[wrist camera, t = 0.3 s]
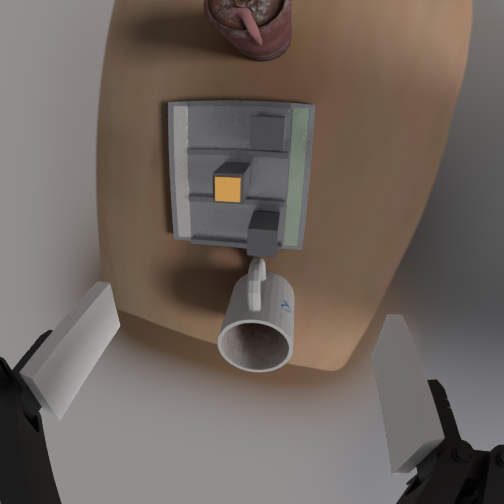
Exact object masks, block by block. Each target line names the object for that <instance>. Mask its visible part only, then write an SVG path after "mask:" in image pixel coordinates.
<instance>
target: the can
mask: <svg viewBox="0 0 504 504" xmlns="http://www.w3.org/2000/svg"><path fill="white" fill-rule="evenodd" d="M204 12H205V15H206V17H207V19H208V21H209V23H210V24H211V25H212V26H213V27H214V28H215V29H217V30H218V31H219V32H220V33H221V34H222V35H223V36H224V37H225V38H226V39H227V40H229V41H230V42H231V43H232V44H233V45H234V46H235V47H236V48H237V49H238V50H239V51H240V52H241V53H242V54H243V55H244V56H246V57H248V58H250V59H252V60H257V61H270V60H273V59H275V58H278V57H279V56H281V55H282V54H283V53H285V52H286V50H287V49H288V47H289V46H290V42H291V38H292V36H291V0H204Z"/></svg>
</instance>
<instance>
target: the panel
mask: <svg viewBox="0 0 504 504" xmlns="http://www.w3.org/2000/svg"><path fill="white" fill-rule="evenodd" d="M254 115H275V116H286V122H285V140H284V148H283V150H268V149H250V135H251V116H254ZM314 116H315V105H310V104H299V103H287V102H270V101H239V100H213V101H183V102H168V138H169V168H170V188H171V205H172V219H173V232H174V239H176V240H189V241H191V244H201V245H213V246H225V247H237V248H247V234H248V226H249V223H250V220H251V217H252V214H253V211H256V212H269V213H280V218H279V232H278V243H277V251H281V248H285V249H296V250H302V247H303V238H304V229H305V220H306V211H307V201H308V191H309V180H310V169H311V157H312V144H313V131H314ZM223 163H241V164H251V170H250V191H249V193H248V195H247V197H246V199H245V202H244V204H228V203H213V172H214V171H215V170H216V169H217V168H218V167H220V166H221V165H222V164H223Z"/></svg>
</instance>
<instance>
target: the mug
mask: <svg viewBox="0 0 504 504" xmlns="http://www.w3.org/2000/svg"><path fill="white" fill-rule="evenodd" d="M293 332H294V292H293V289H292V287H291V285H290V284H289V283H288V282H287V281H286V280H285V279H284V278H283V277H281V276H280V275H278V274H276V273H273V272H269V271H266V268H265V262H264V260H263V259H262V258H260V257H256V258H253V260H252V261H251V263H250V266H249V270H248V274H246V275H244V276H242V277H241V278H240V279H239V280H238V281H237V282H236V284H235V286H234V288H233V291H232V295H231V298H230V301H229V305H228V308H227V311H226V314H225V318H224V321H223V324H222V328H221V331H220V334H219V338H218V348H219V351H220V353H221V354H222V356H223V357H224V358H225V359H226V360H227V361H228V362H229V363H231V364H232V365H234V366H236V367H238V368H240V369H243V370H247V371H252V372H266V371H272V370H275V369H277V368H280V367H281V366H283V365H284V364H286V363H287V362H288V360H289V359H290V357H291V355H292V352H293Z"/></svg>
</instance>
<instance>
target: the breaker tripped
mask: <svg viewBox="0 0 504 504" xmlns="http://www.w3.org/2000/svg"><path fill="white" fill-rule="evenodd" d="M250 170H251V164H241V163H223V164H222V165H221V166H220V167H218V168H217V169H216V170H215V171H214V172H213V203H228V204H244V202H245V199H246V197H247V195H248V193H249V191H250Z"/></svg>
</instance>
